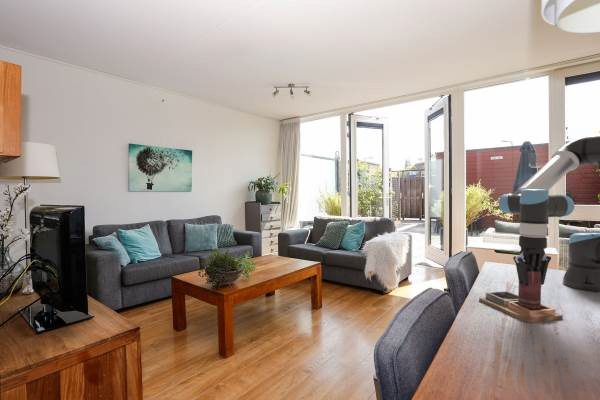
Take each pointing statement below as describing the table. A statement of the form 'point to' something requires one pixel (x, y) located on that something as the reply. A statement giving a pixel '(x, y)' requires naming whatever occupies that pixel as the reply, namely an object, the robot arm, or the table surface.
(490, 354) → the table surface
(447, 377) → the table surface
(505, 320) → the table surface
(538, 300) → the can
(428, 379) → the table surface
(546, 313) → the board
